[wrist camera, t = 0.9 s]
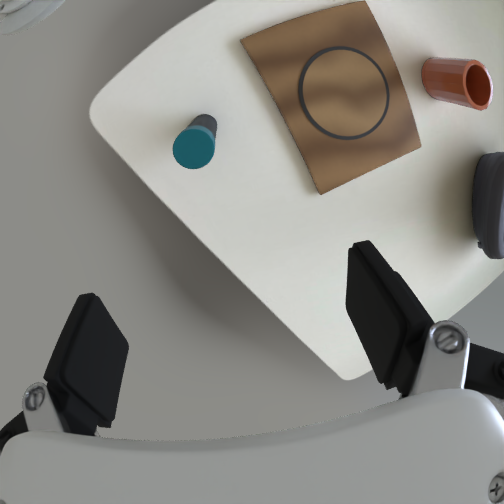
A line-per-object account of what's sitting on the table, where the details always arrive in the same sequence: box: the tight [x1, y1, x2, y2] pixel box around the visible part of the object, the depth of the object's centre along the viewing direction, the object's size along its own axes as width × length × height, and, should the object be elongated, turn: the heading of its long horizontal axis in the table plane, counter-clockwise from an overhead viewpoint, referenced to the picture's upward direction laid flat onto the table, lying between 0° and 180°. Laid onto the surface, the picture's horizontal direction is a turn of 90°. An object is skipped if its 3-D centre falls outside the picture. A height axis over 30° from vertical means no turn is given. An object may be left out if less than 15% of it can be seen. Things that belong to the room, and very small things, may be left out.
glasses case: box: [472, 152, 504, 259], centre depth 30 cm, size 18×10×8 cm, turn 27°
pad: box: [240, 0, 421, 195], centre depth 24 cm, size 18×14×1 cm
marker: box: [173, 114, 217, 169], centre depth 20 cm, size 2×2×11 cm
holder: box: [422, 58, 493, 111], centre depth 20 cm, size 5×5×7 cm
